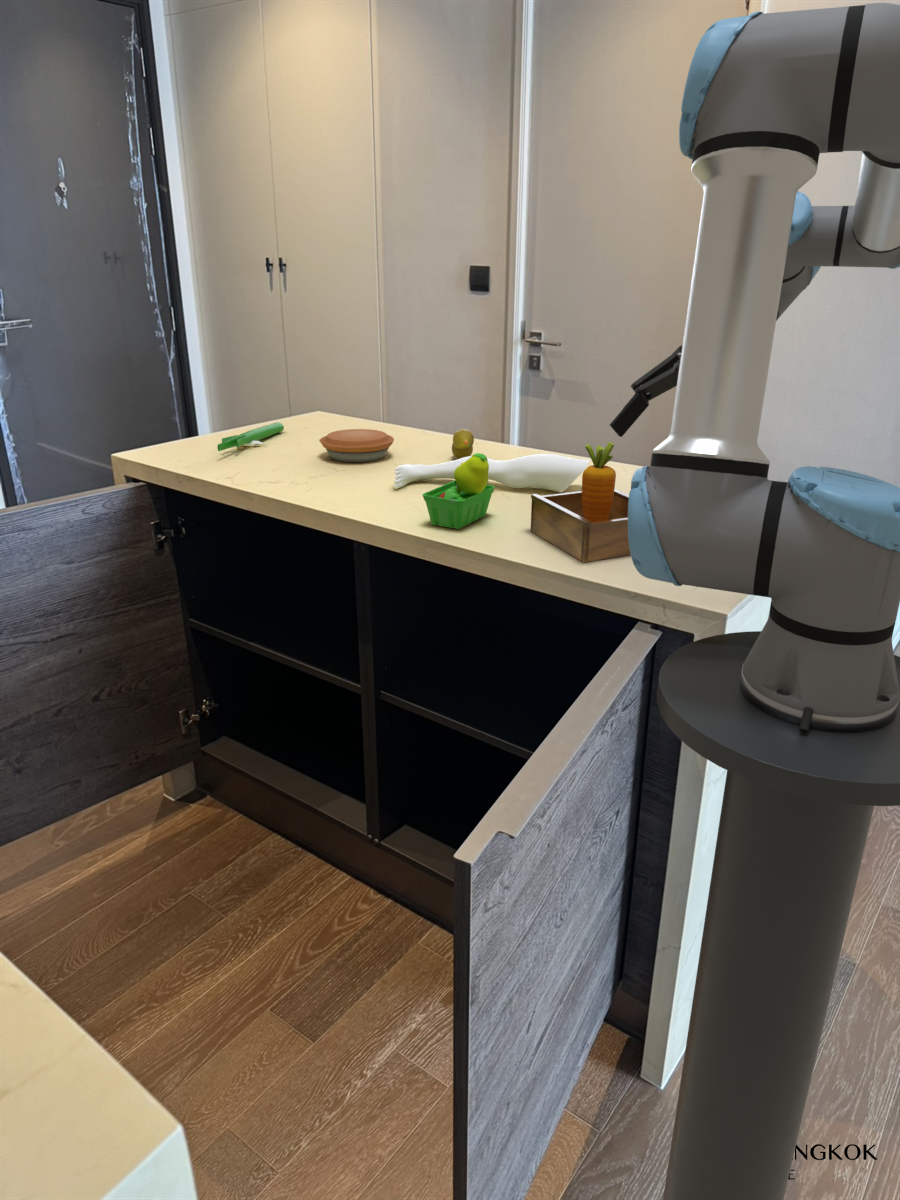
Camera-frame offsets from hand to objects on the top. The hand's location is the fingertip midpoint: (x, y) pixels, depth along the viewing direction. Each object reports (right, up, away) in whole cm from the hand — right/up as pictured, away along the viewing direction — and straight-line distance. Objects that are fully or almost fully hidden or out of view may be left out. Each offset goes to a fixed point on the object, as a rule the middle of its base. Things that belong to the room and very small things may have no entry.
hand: (641, 439), depth 127 cm
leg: (-21, -3, +31) cm, 37 cm away
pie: (-48, +6, +54) cm, 72 cm away
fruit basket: (-26, -11, +12) cm, 31 cm away
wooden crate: (-6, -15, +3) cm, 16 cm away
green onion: (-72, +10, +63) cm, 96 cm away
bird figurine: (-26, +6, +52) cm, 58 cm away
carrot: (-6, -15, +3) cm, 16 cm away
